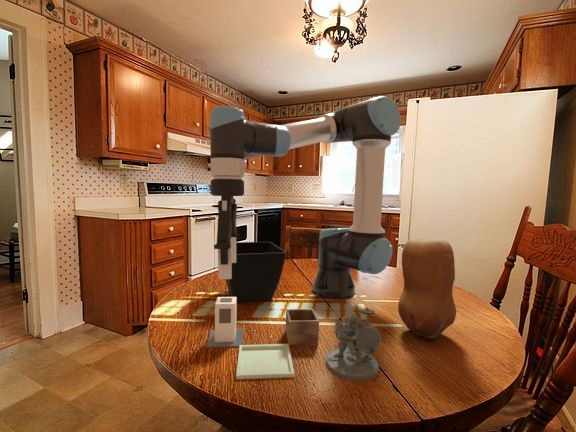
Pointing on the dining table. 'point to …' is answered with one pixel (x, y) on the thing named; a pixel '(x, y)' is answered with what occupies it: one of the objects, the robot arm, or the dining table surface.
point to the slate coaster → (237, 343)
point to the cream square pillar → (225, 319)
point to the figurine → (355, 349)
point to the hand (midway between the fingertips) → (228, 270)
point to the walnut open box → (302, 327)
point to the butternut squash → (427, 287)
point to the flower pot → (256, 271)
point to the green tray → (264, 361)
